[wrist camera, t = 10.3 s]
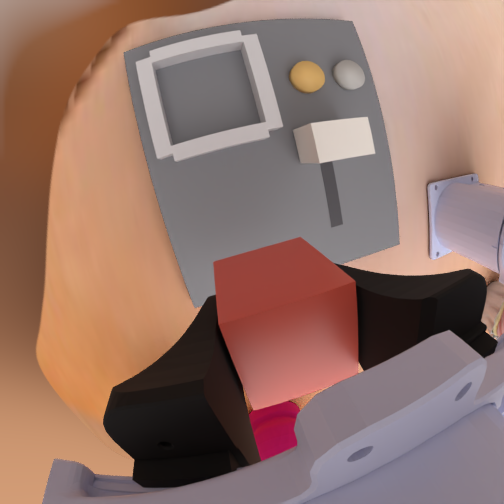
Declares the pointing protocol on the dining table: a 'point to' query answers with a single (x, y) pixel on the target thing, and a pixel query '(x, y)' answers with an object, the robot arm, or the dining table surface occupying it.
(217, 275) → the cap
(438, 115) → the dining table surface
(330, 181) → the panel
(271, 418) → the pepper mill
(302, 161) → the block
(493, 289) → the cupcake
